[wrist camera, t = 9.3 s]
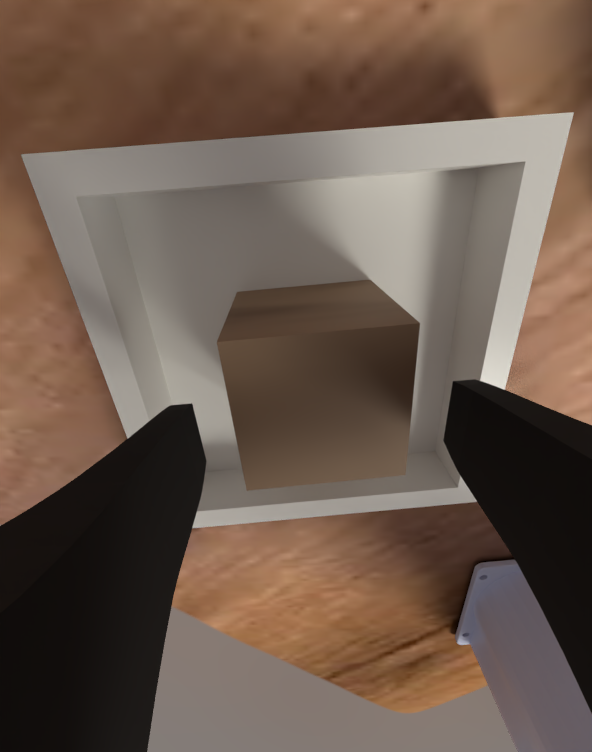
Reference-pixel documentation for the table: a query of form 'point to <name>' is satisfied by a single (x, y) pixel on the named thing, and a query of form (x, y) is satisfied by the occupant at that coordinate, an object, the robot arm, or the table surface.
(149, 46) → the table surface
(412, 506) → the off-white tray
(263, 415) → the walnut cube
